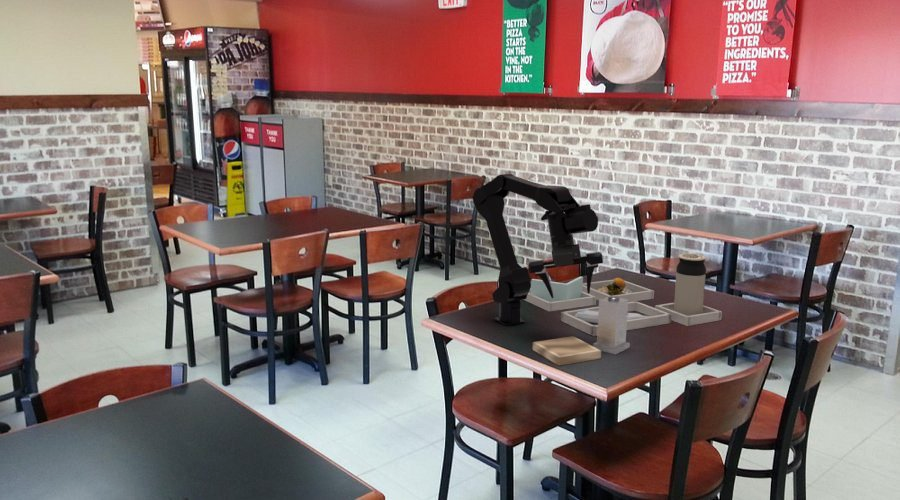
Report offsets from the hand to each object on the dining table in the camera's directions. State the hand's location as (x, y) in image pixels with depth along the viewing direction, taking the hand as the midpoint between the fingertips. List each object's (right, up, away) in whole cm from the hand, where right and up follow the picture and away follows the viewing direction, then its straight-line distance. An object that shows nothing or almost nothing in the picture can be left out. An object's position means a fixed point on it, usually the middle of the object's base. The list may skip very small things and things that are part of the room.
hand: (570, 295), depth 188 cm
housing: (+10, -13, -3) cm, 16 cm away
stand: (-2, -14, -7) cm, 16 cm away
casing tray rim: (+16, -9, +19) cm, 26 cm away
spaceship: (+16, -9, +20) cm, 27 cm away
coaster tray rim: (+2, -4, +39) cm, 40 cm away
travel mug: (+38, -8, +24) cm, 45 cm away
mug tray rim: (+38, -8, +24) cm, 45 cm away
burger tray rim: (+22, -3, +47) cm, 52 cm away
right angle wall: (+2, -5, +39) cm, 40 cm away
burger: (+22, -3, +47) cm, 52 cm away
